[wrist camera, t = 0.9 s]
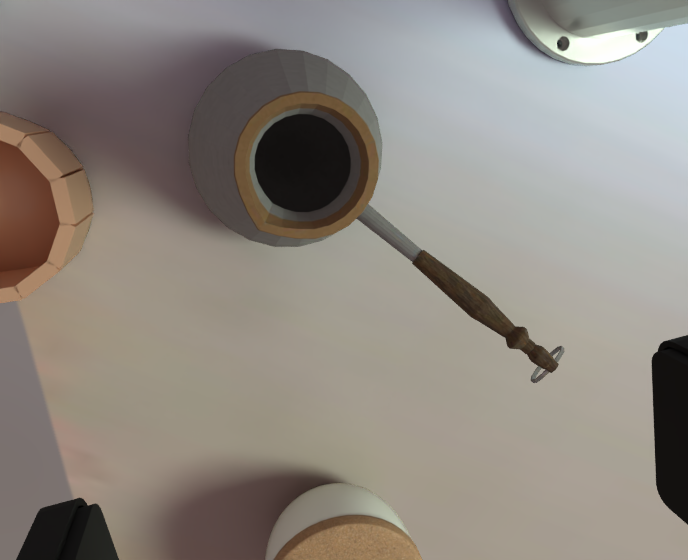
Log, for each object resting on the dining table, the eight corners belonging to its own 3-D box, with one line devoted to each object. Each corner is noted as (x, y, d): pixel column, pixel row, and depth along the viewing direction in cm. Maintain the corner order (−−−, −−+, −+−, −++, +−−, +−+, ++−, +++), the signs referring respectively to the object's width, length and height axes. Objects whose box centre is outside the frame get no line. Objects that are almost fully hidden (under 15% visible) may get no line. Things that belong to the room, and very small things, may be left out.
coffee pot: (152, 162, 38) (105, 195, 23) (267, 11, 37) (291, -51, 22) (403, 351, 44) (486, 466, 30) (508, 227, 43) (645, 286, 29)
